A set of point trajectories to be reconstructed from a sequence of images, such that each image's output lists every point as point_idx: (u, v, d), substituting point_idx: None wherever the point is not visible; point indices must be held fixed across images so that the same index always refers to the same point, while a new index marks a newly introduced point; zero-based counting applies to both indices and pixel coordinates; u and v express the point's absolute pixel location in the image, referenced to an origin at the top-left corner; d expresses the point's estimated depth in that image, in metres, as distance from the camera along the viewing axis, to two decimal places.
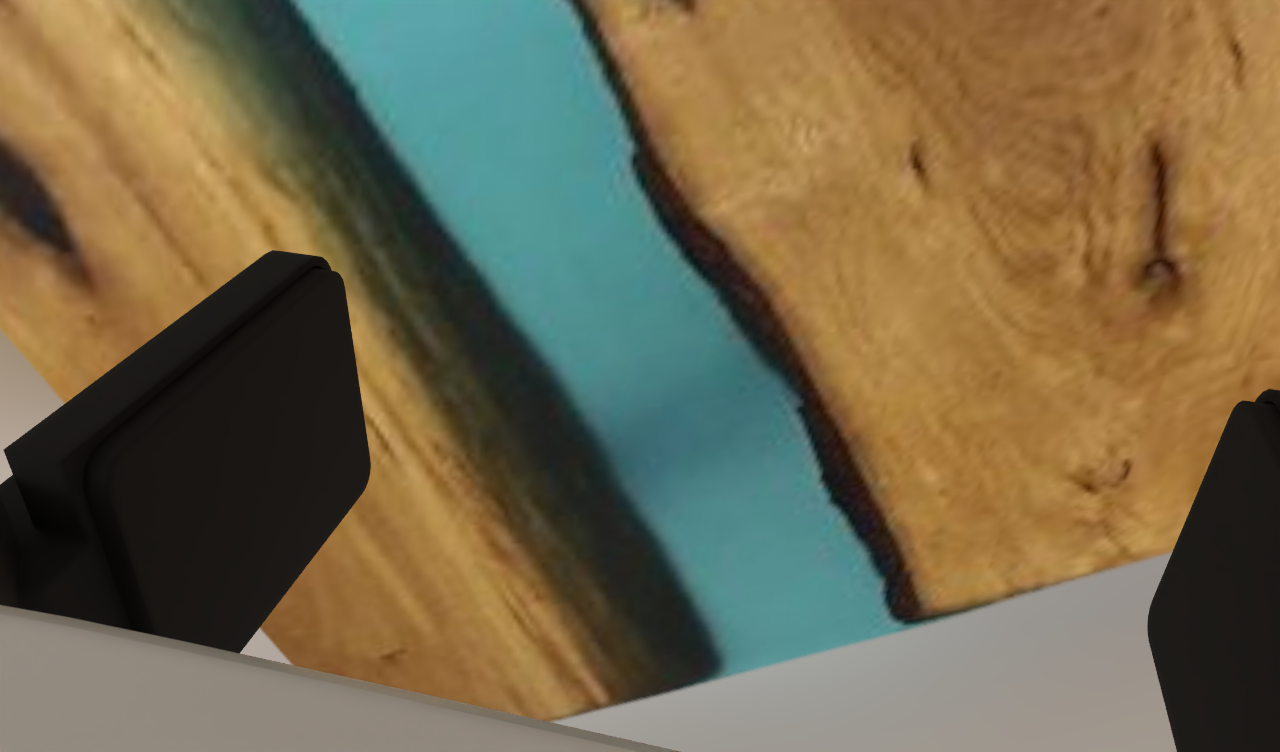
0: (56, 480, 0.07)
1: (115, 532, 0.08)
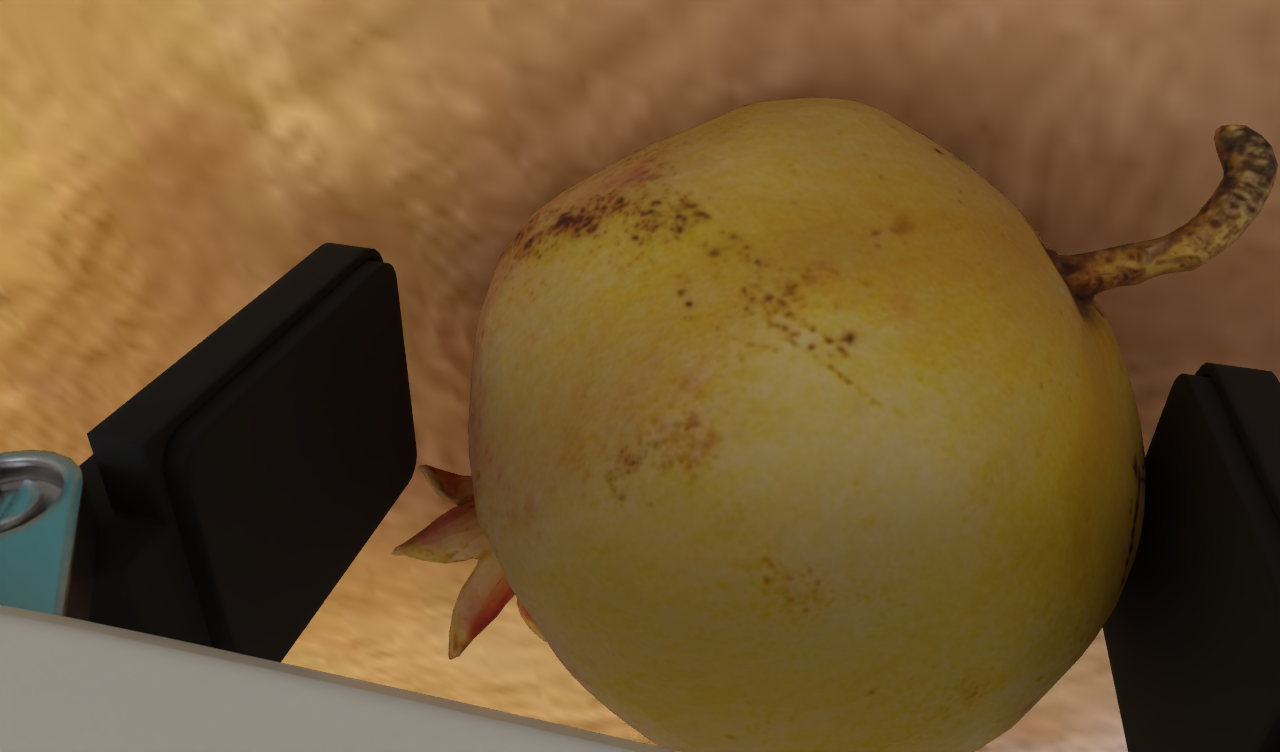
0: (138, 463, 0.08)
1: (192, 514, 0.08)
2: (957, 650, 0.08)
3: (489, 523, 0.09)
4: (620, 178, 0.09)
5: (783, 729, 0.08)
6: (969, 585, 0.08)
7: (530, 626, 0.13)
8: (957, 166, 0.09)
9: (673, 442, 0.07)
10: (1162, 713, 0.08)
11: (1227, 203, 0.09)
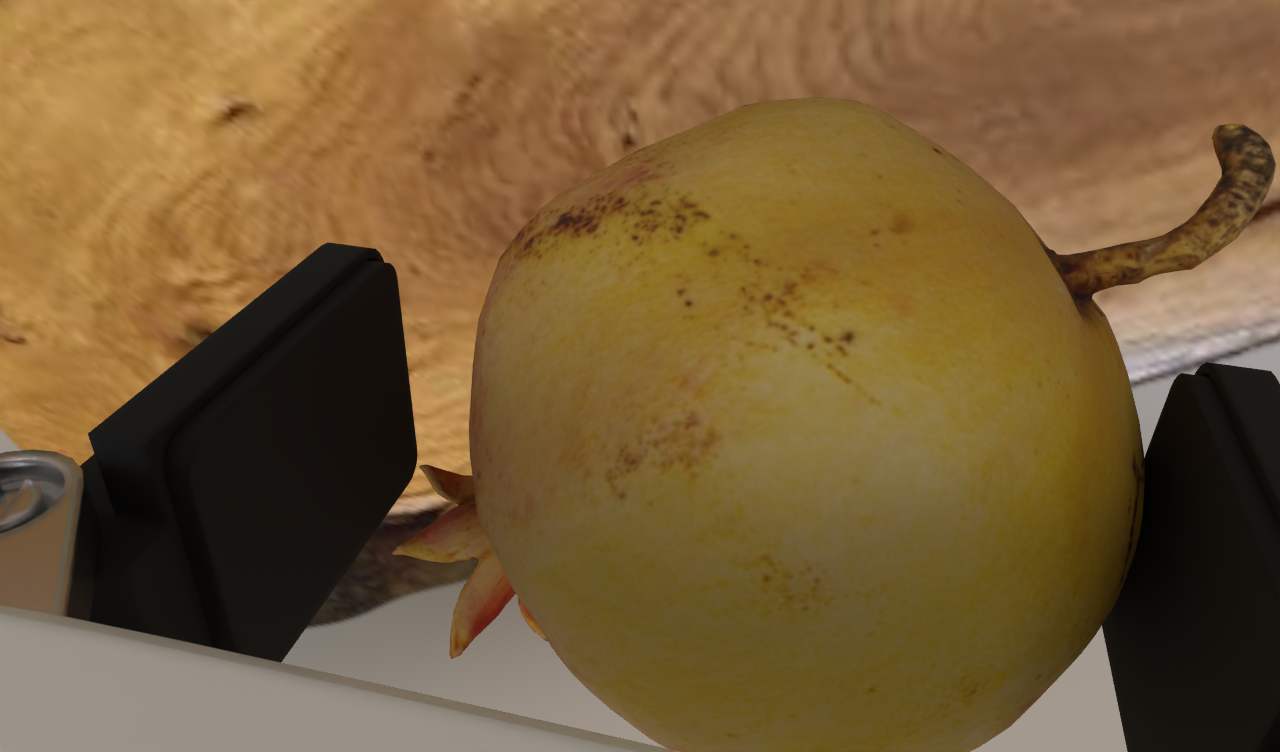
0: (139, 462, 0.08)
1: (193, 514, 0.08)
2: (956, 646, 0.08)
3: (490, 522, 0.09)
4: (620, 178, 0.09)
5: (783, 726, 0.08)
6: (968, 583, 0.08)
7: (531, 625, 0.13)
8: (956, 166, 0.09)
9: (672, 440, 0.07)
10: (1161, 713, 0.08)
11: (1225, 202, 0.09)
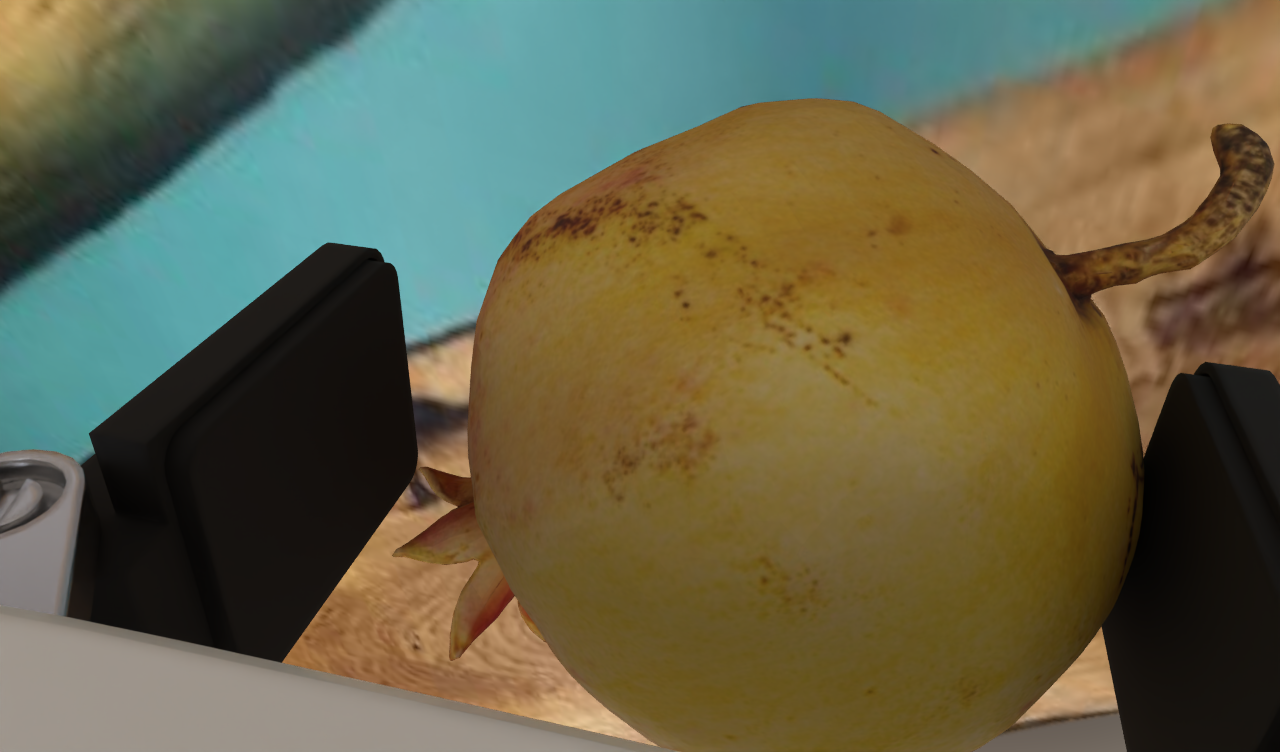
0: (140, 462, 0.08)
1: (194, 514, 0.08)
2: (955, 648, 0.08)
3: (488, 524, 0.09)
4: (617, 180, 0.09)
5: (782, 728, 0.08)
6: (967, 585, 0.08)
7: (531, 627, 0.13)
8: (954, 166, 0.09)
9: (669, 443, 0.07)
10: (1160, 712, 0.08)
11: (1224, 202, 0.09)
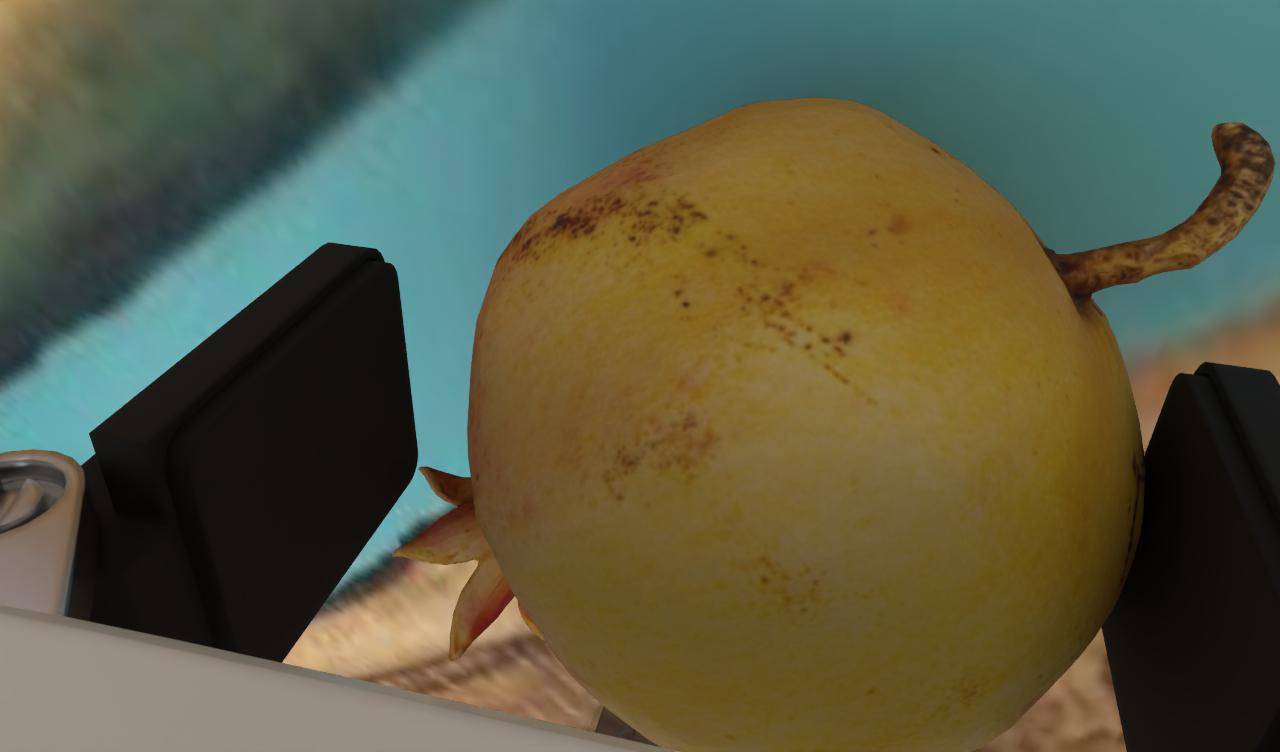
0: (140, 462, 0.08)
1: (194, 514, 0.08)
2: (955, 650, 0.08)
3: (488, 524, 0.09)
4: (617, 179, 0.09)
5: (782, 727, 0.08)
6: (968, 584, 0.08)
7: (531, 627, 0.13)
8: (954, 165, 0.09)
9: (669, 442, 0.07)
10: (1161, 712, 0.08)
11: (1224, 201, 0.09)
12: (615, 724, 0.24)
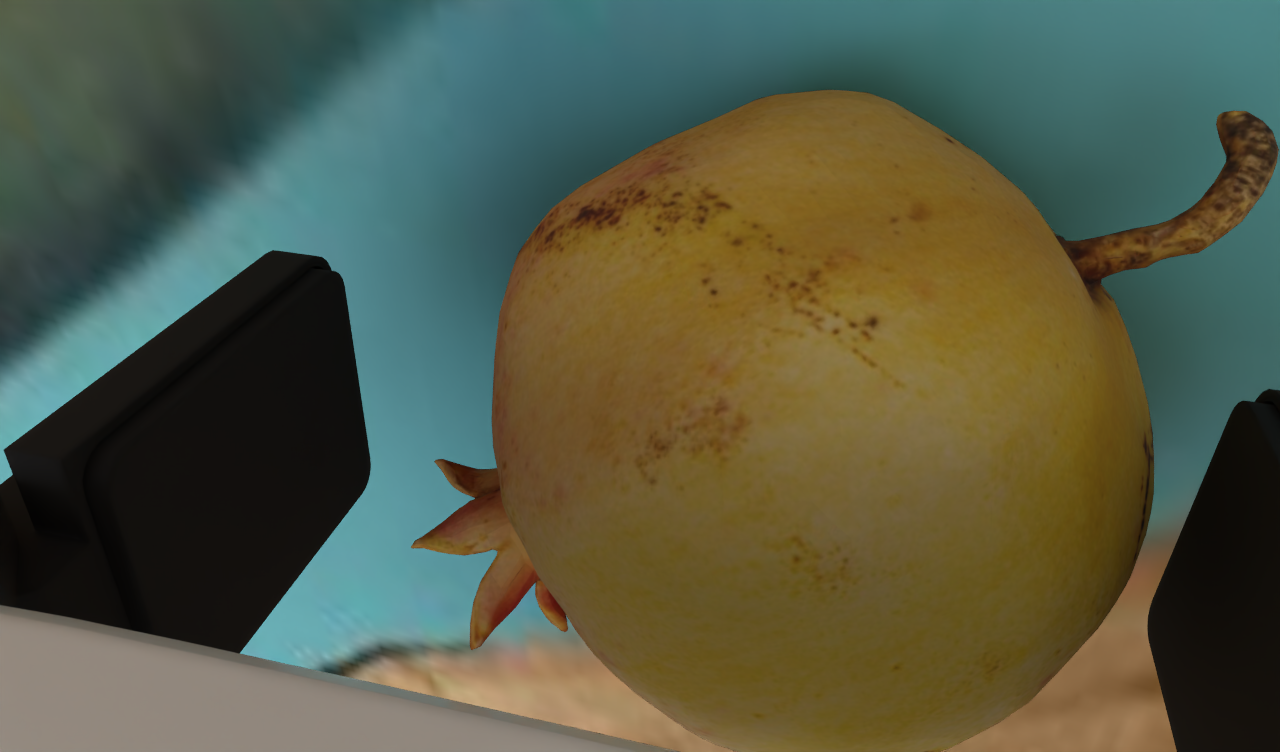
0: (56, 479, 0.07)
1: (115, 531, 0.08)
2: (979, 625, 0.08)
3: (517, 511, 0.09)
4: (639, 171, 0.09)
5: (810, 706, 0.09)
6: (992, 560, 0.08)
7: (548, 616, 0.13)
8: (968, 155, 0.09)
9: (701, 426, 0.07)
10: None
11: (1231, 187, 0.09)
12: None
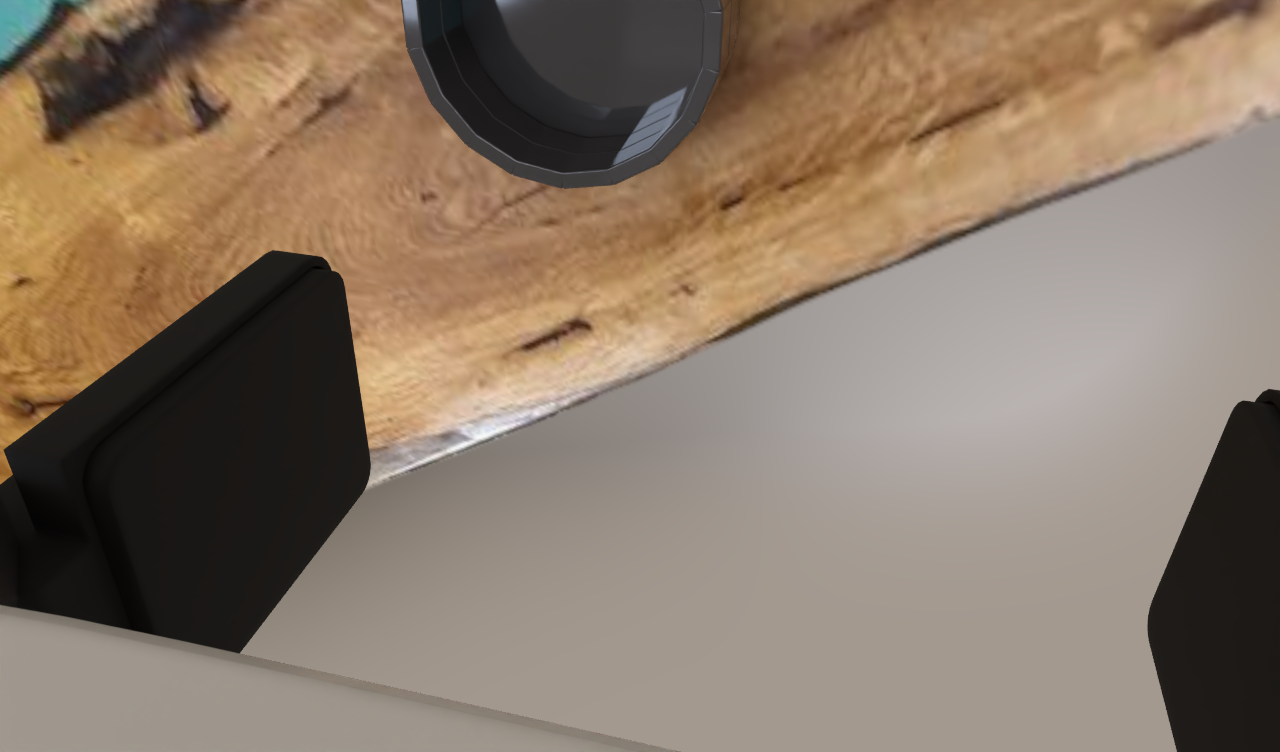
0: (56, 480, 0.07)
1: (115, 532, 0.08)
2: None
3: None
4: None
5: None
6: None
7: None
8: None
9: None
10: None
11: None
12: None
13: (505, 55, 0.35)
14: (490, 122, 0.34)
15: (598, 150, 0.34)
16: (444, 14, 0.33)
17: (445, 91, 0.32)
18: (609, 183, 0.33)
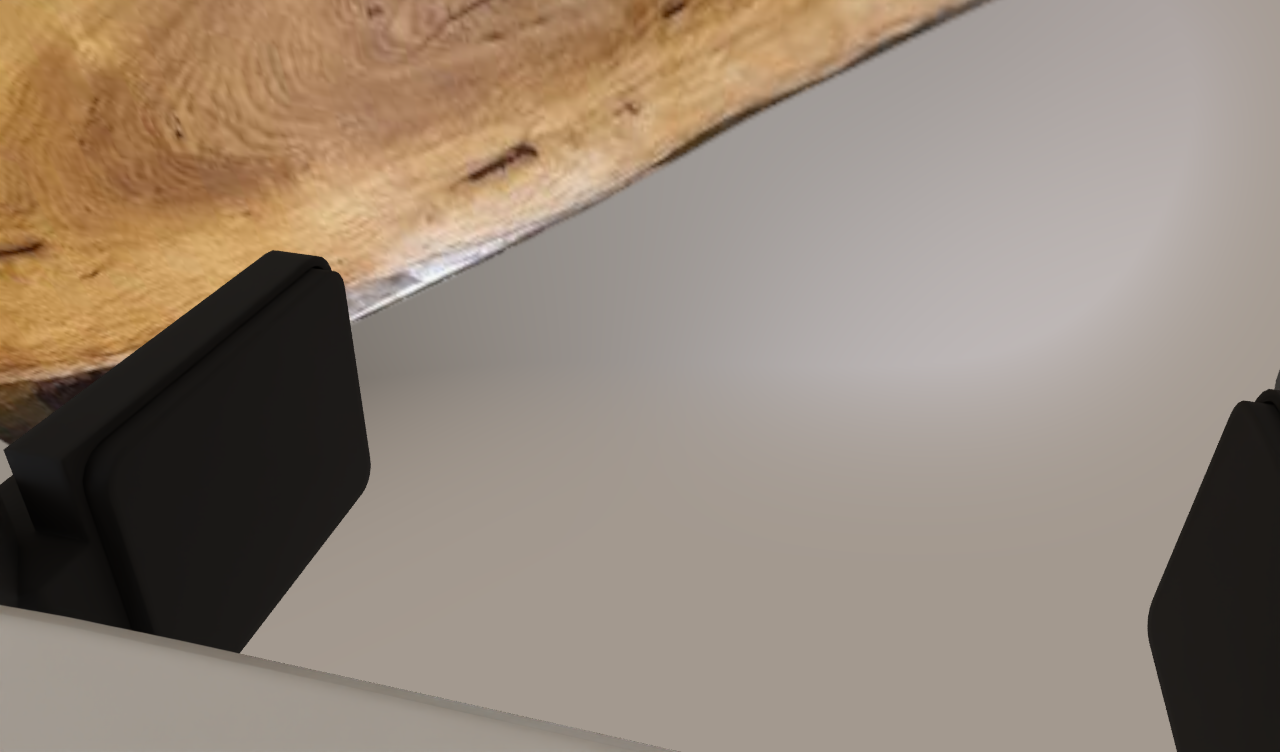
0: (56, 479, 0.07)
1: (115, 531, 0.08)
2: None
3: None
4: None
5: None
6: None
7: None
8: None
9: None
10: None
11: None
12: None
13: None
14: None
15: None
16: None
17: None
18: None
